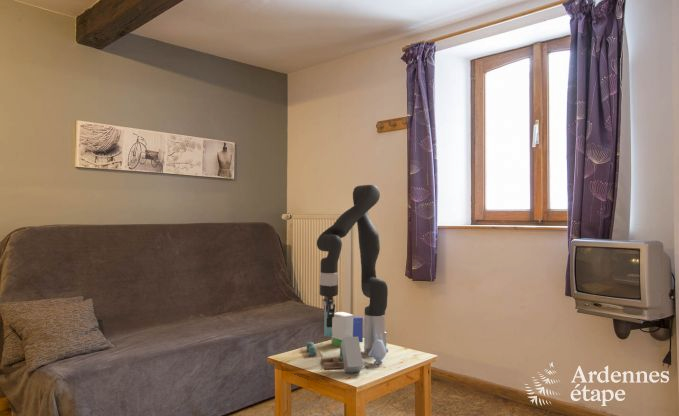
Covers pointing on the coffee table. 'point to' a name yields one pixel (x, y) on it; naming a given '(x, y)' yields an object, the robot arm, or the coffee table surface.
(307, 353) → the board
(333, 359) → the board
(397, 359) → the coffee table surface
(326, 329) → the pin
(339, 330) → the skincare box
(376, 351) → the toy figure
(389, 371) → the coffee table surface
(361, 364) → the white rectangular block
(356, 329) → the walkman
